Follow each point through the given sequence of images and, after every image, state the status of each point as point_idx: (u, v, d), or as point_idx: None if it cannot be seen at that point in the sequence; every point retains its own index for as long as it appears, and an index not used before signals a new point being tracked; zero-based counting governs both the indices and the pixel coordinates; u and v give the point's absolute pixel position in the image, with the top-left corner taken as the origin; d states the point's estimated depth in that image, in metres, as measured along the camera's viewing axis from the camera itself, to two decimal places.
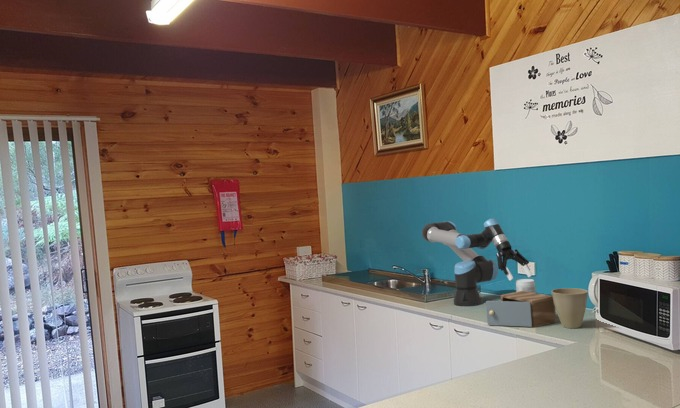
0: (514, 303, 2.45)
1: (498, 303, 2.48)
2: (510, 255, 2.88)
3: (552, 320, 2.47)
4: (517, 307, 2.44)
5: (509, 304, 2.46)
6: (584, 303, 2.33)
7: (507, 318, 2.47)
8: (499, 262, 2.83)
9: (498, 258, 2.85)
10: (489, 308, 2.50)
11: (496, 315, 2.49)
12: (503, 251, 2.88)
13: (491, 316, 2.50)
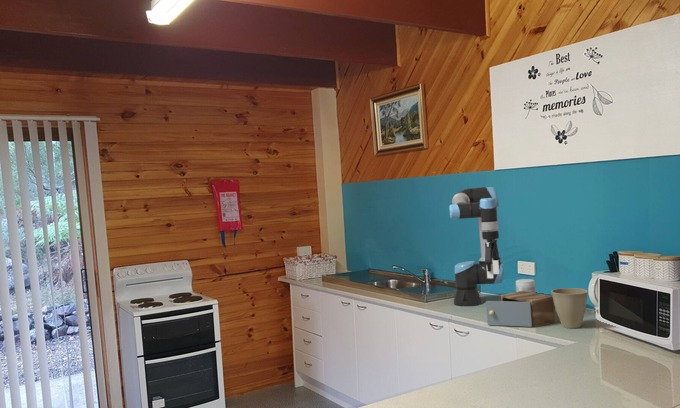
0: (514, 303, 2.45)
1: (498, 303, 2.48)
2: (493, 247, 2.53)
3: (552, 320, 2.47)
4: (517, 307, 2.44)
5: (509, 304, 2.46)
6: (584, 303, 2.33)
7: (507, 318, 2.47)
8: (488, 256, 2.46)
9: (487, 250, 2.47)
10: (489, 308, 2.50)
11: (496, 315, 2.49)
12: (491, 241, 2.50)
13: (491, 316, 2.50)
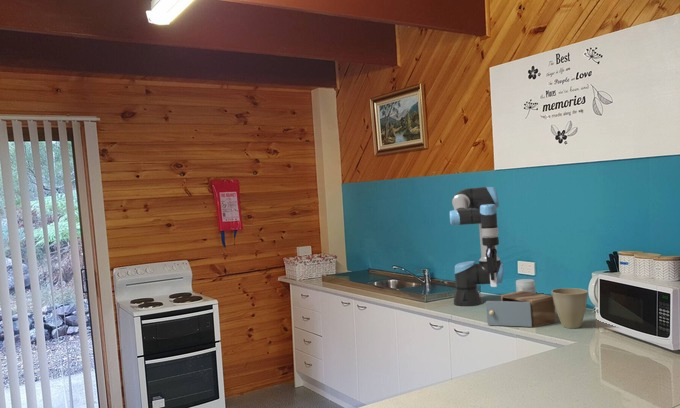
0: (514, 303, 2.45)
1: (498, 303, 2.48)
2: None
3: (552, 320, 2.47)
4: (517, 307, 2.44)
5: (509, 304, 2.46)
6: (584, 303, 2.33)
7: (507, 318, 2.47)
8: (491, 266, 2.50)
9: (489, 260, 2.49)
10: (489, 308, 2.50)
11: (496, 315, 2.49)
12: (491, 248, 2.50)
13: (491, 316, 2.50)
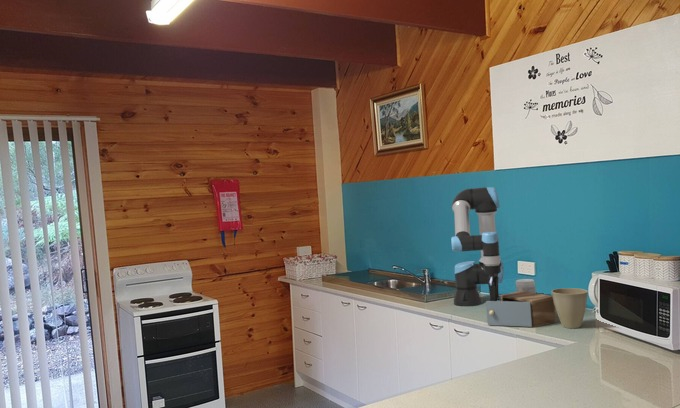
0: (514, 303, 2.45)
1: (498, 303, 2.48)
2: None
3: (552, 320, 2.47)
4: (517, 307, 2.44)
5: (509, 304, 2.46)
6: (584, 303, 2.33)
7: (507, 318, 2.47)
8: (493, 294, 2.49)
9: (491, 288, 2.49)
10: (489, 308, 2.50)
11: (496, 315, 2.49)
12: (493, 276, 2.50)
13: (491, 316, 2.50)
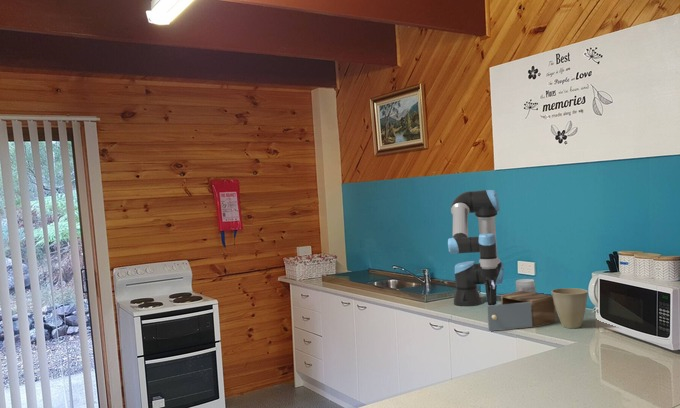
0: (515, 304, 2.41)
1: (500, 307, 2.41)
2: None
3: (552, 320, 2.47)
4: (518, 309, 2.41)
5: (511, 306, 2.41)
6: (584, 303, 2.33)
7: (508, 321, 2.41)
8: (494, 298, 2.41)
9: (493, 292, 2.40)
10: (491, 313, 2.41)
11: (498, 319, 2.41)
12: (494, 279, 2.41)
13: (493, 321, 2.41)
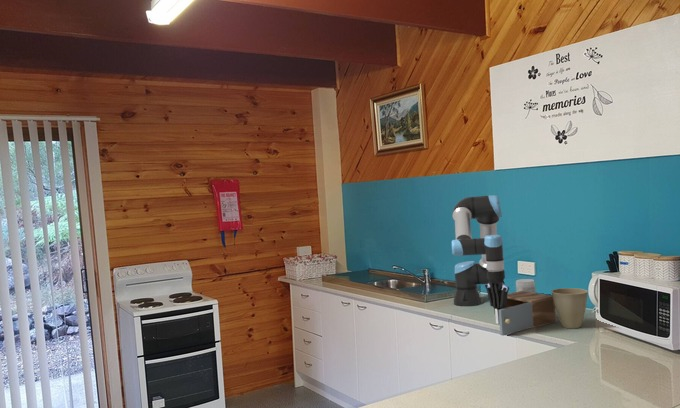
0: (521, 306, 2.38)
1: (510, 309, 2.34)
2: None
3: (552, 320, 2.47)
4: (523, 310, 2.38)
5: (517, 308, 2.36)
6: (584, 303, 2.33)
7: (516, 323, 2.36)
8: (505, 301, 2.33)
9: (505, 295, 2.32)
10: (503, 317, 2.32)
11: (509, 322, 2.33)
12: None
13: (505, 325, 2.32)
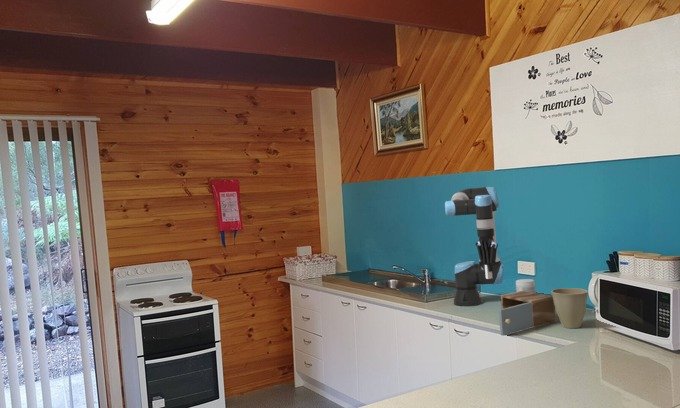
0: (521, 306, 2.38)
1: (510, 309, 2.34)
2: None
3: (552, 320, 2.47)
4: (523, 310, 2.38)
5: (518, 308, 2.36)
6: (584, 303, 2.33)
7: (516, 323, 2.36)
8: (494, 257, 2.46)
9: (494, 251, 2.45)
10: (504, 317, 2.32)
11: (509, 322, 2.33)
12: None
13: (505, 325, 2.32)
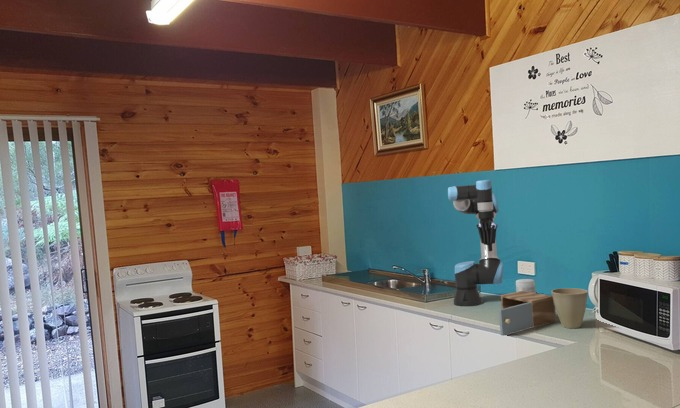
0: (521, 306, 2.38)
1: (510, 309, 2.34)
2: None
3: (552, 320, 2.47)
4: (523, 310, 2.38)
5: (518, 308, 2.36)
6: (584, 303, 2.33)
7: (516, 323, 2.36)
8: (494, 237, 2.65)
9: (493, 231, 2.64)
10: (504, 317, 2.32)
11: (509, 322, 2.33)
12: None
13: (505, 325, 2.32)
